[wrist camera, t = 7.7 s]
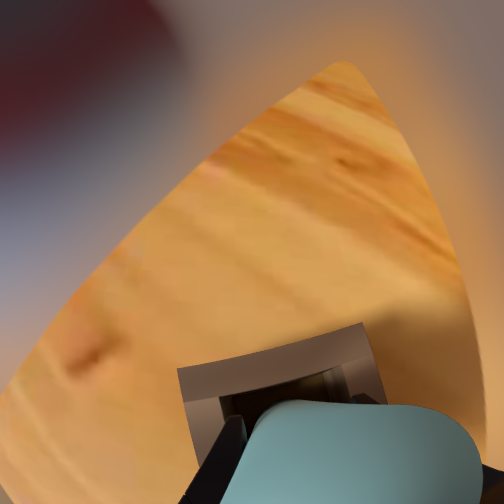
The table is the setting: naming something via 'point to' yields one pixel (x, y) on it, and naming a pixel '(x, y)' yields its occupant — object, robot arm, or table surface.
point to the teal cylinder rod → (356, 457)
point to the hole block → (277, 378)
